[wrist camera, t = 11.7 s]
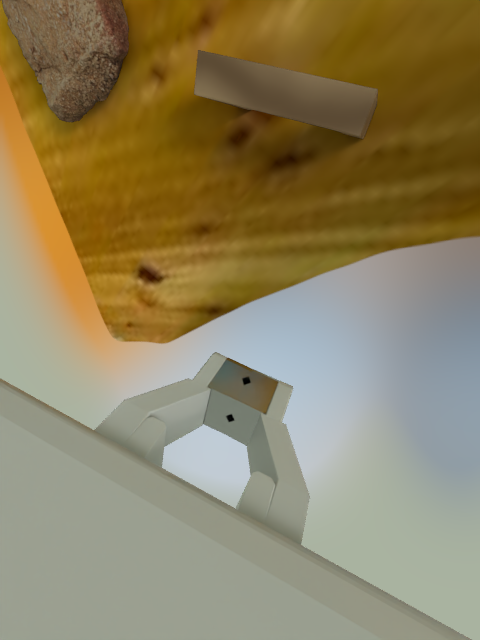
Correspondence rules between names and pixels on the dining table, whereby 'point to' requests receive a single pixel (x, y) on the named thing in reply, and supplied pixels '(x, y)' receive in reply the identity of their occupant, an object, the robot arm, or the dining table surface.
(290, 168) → the dining table surface
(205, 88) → the bridge
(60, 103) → the rock
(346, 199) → the dining table surface
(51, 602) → the robot arm
